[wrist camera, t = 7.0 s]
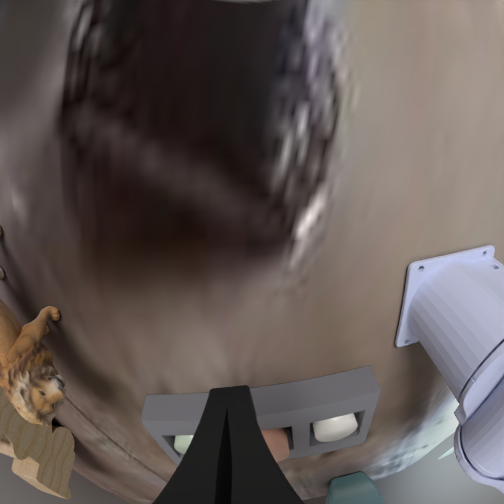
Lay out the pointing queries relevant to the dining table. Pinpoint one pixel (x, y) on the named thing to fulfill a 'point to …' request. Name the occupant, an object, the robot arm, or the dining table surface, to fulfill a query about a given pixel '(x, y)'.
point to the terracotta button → (277, 442)
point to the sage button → (182, 443)
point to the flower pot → (353, 490)
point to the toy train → (37, 450)
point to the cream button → (335, 428)
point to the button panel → (277, 411)
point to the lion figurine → (29, 366)
